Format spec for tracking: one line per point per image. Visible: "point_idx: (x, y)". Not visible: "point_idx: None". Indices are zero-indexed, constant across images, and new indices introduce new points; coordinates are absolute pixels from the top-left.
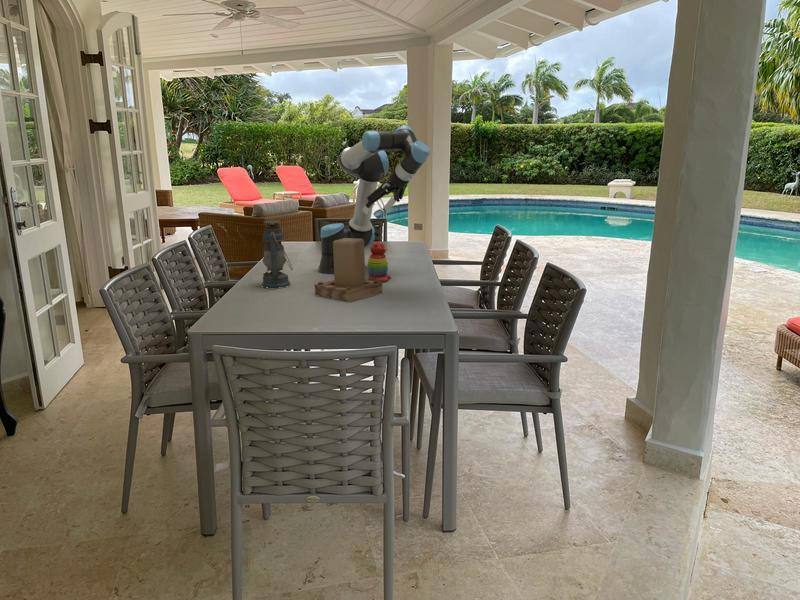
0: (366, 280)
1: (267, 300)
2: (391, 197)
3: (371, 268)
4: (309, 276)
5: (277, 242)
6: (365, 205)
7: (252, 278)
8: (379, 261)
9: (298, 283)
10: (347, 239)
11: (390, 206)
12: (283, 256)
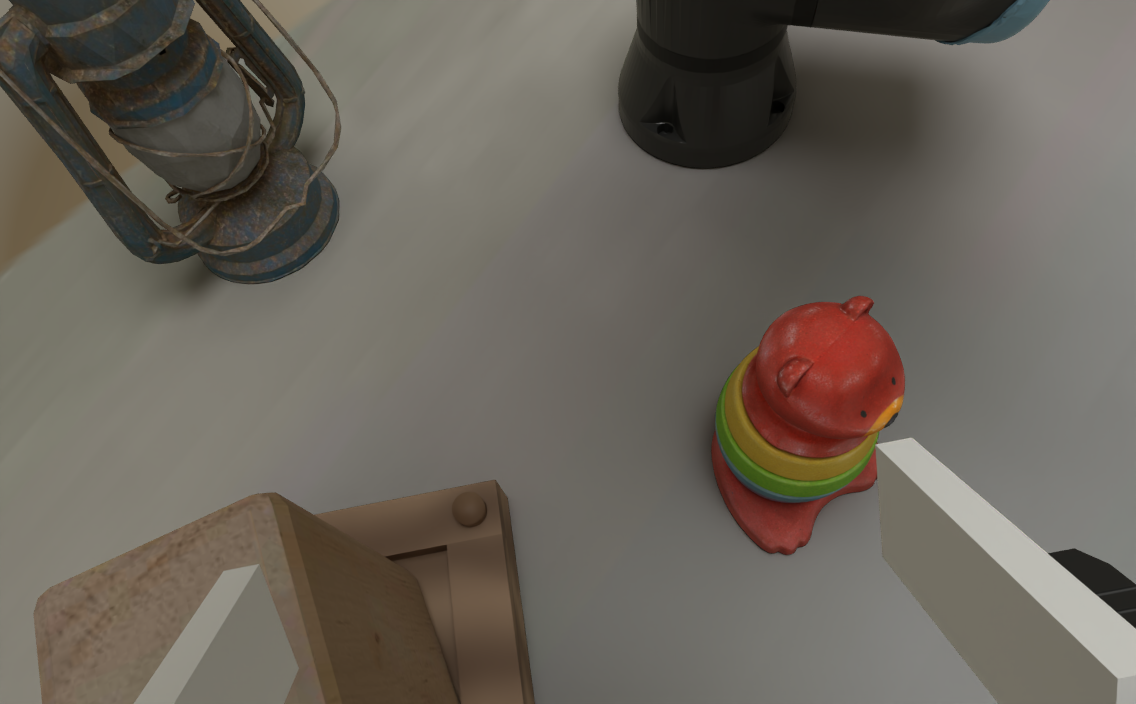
0: (505, 680)
1: (4, 479)
2: (1100, 673)
3: (720, 441)
4: (521, 142)
5: (45, 116)
6: (162, 665)
7: (306, 41)
8: (777, 467)
9: (372, 245)
10: (173, 637)
11: (960, 645)
12: (203, 145)
